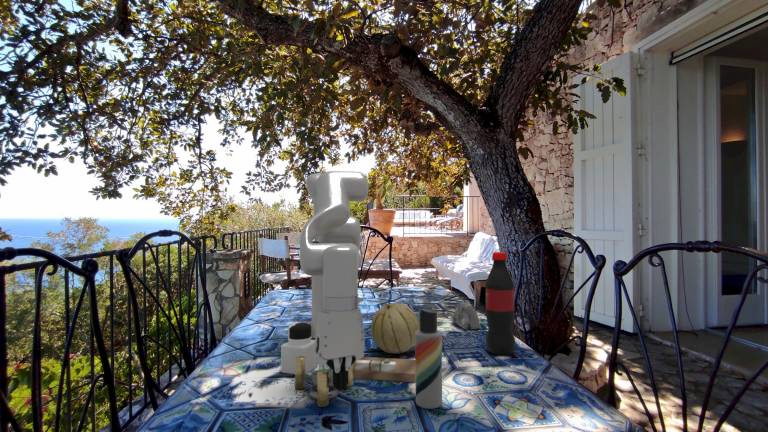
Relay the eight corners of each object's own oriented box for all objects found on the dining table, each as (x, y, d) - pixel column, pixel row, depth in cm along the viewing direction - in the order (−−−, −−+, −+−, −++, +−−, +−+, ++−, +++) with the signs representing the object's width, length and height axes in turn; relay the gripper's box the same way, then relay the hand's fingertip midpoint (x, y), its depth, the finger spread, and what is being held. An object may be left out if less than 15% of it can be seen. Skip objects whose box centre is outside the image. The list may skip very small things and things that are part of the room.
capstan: (295, 385, 93) (295, 356, 93) (353, 382, 95) (353, 353, 95) (289, 409, 81) (289, 375, 81) (355, 405, 83) (355, 372, 83)
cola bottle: (511, 348, 121) (510, 251, 121) (518, 357, 112) (517, 252, 113) (483, 347, 121) (482, 250, 122) (488, 356, 113) (487, 252, 114)
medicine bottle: (318, 366, 106) (318, 322, 106) (304, 376, 99) (304, 328, 99) (295, 363, 108) (295, 320, 109) (280, 372, 101) (280, 326, 102)
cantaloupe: (426, 348, 121) (426, 299, 121) (409, 363, 108) (409, 309, 108) (383, 342, 127) (383, 296, 128) (362, 356, 114) (362, 304, 114)
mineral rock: (453, 320, 156) (453, 295, 156) (481, 322, 153) (481, 296, 153) (449, 329, 143) (449, 301, 144) (479, 331, 140) (479, 303, 141)
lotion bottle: (413, 397, 86) (413, 306, 87) (438, 396, 87) (438, 306, 87) (418, 410, 81) (417, 312, 81) (445, 408, 81) (444, 312, 82)
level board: (335, 377, 98) (335, 358, 98) (346, 363, 108) (346, 346, 108) (415, 382, 95) (414, 362, 95) (418, 367, 105) (418, 349, 105)
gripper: (364, 297, 91) (364, 375, 91) (301, 303, 84) (301, 388, 84) (379, 302, 85) (379, 388, 84) (312, 310, 78) (312, 403, 77)
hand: (340, 388), depth 84 cm, fingers closed
